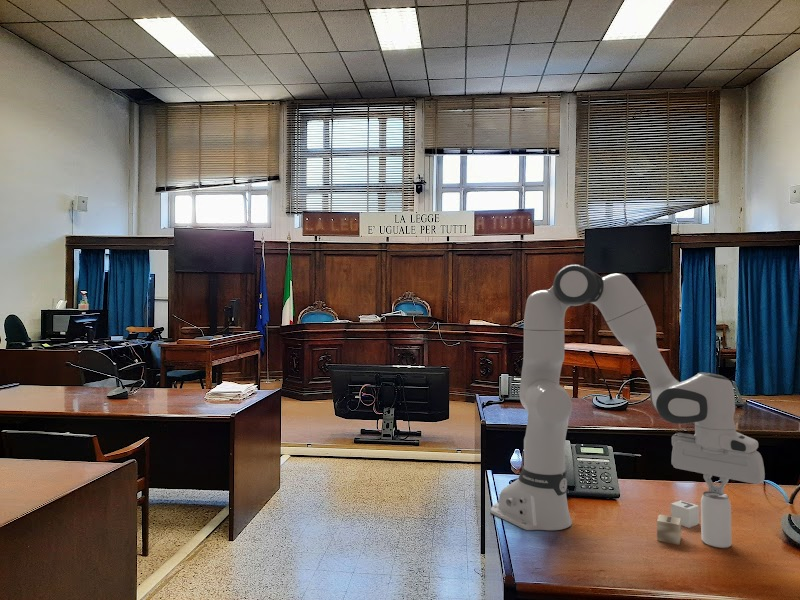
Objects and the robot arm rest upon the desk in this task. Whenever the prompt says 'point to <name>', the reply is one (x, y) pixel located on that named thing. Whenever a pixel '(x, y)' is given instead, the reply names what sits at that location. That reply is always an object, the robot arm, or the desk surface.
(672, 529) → the birch block
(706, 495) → the can
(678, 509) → the white block
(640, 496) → the desk surface
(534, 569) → the desk surface
